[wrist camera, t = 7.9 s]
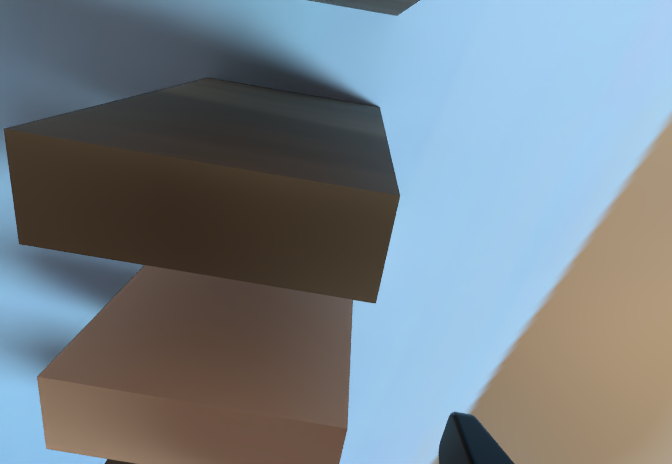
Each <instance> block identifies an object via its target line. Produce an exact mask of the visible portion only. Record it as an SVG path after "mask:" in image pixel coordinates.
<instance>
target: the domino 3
mask: <svg viewBox="0 0 672 464" xmlns="http://www.w3.org/2000/svg"><path fill="white" fill-rule="evenodd" d="M309 1H315V2H321V3H326V4H332V5H338V6H344V7H350V8H355V9H361V10H367V11H373V12H378V13H384V14H390V15H396V16H397V15H399V14H400V13H402V12H403V11H405V10H406V9H408V8H409V7H411V6H412V5H414V4H415V3H417V2H418V1H420V0H309Z"/></svg>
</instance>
